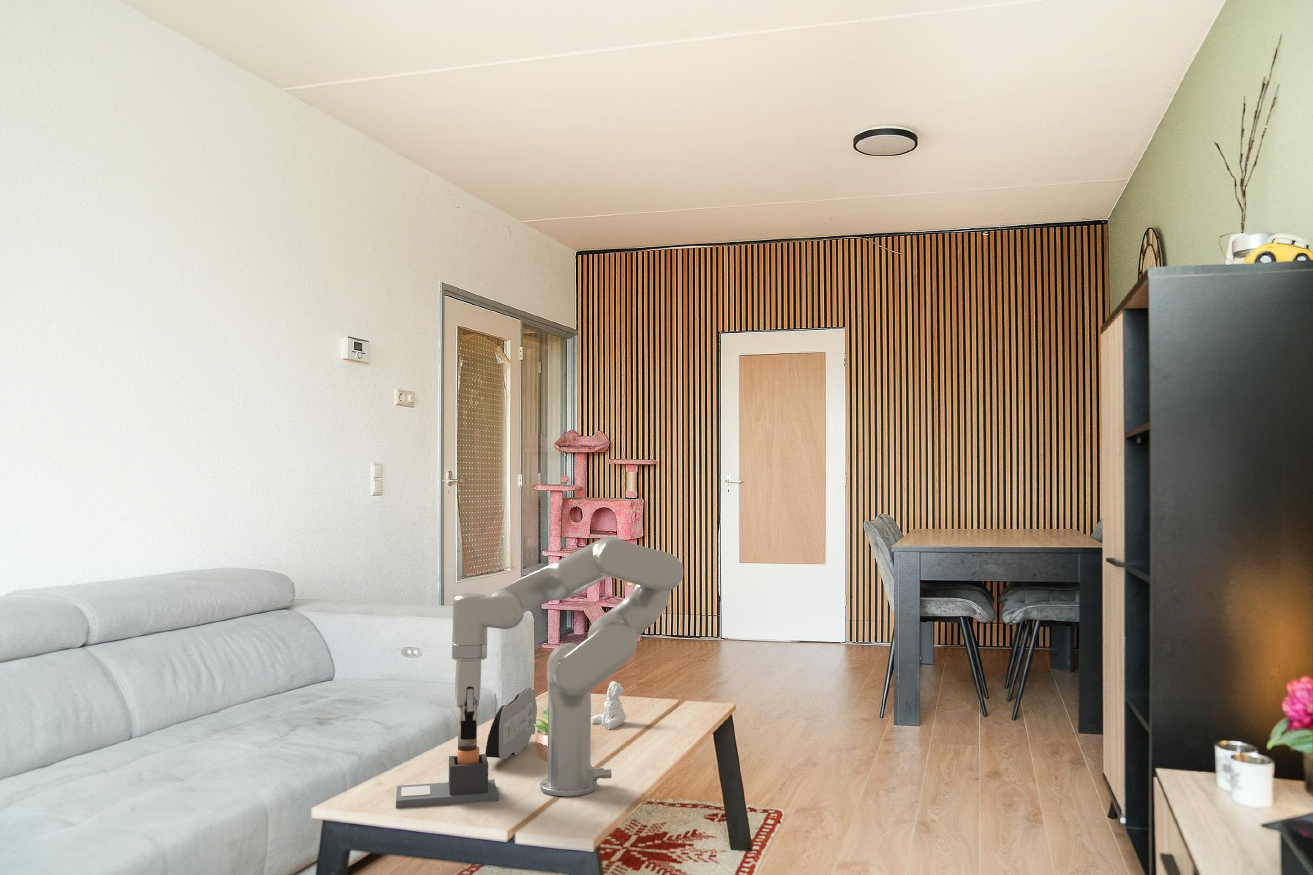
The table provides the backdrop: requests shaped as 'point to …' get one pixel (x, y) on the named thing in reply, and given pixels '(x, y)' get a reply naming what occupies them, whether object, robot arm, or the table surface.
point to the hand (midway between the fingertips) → (467, 735)
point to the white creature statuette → (611, 709)
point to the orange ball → (468, 757)
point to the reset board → (452, 787)
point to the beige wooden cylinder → (462, 744)
